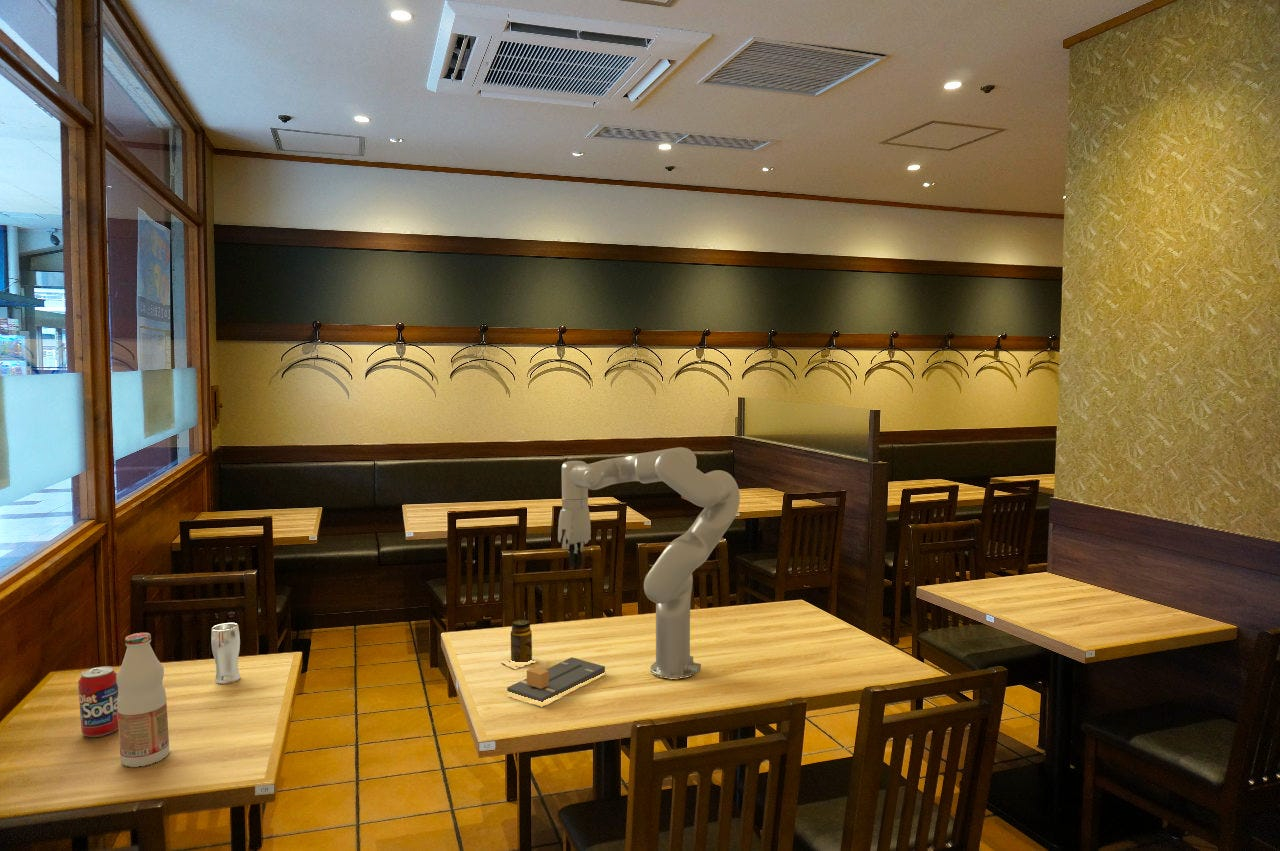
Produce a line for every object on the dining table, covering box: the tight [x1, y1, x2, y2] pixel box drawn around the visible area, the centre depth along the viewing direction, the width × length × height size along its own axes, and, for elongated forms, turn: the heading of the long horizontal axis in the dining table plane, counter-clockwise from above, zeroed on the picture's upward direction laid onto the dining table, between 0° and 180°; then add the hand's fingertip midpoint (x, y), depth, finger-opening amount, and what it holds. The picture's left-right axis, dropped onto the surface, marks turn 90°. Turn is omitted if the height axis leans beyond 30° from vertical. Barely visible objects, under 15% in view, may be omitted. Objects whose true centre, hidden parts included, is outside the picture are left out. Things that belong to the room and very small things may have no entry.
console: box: [506, 656, 606, 702], centre depth 227 cm, size 26×12×3 cm, turn 145°
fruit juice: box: [116, 632, 170, 768], centre depth 186 cm, size 9×9×28 cm
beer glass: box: [211, 622, 241, 685], centre depth 231 cm, size 7×7×15 cm
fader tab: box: [526, 666, 549, 689], centre depth 220 cm, size 3×5×4 cm, turn 55°
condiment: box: [510, 619, 533, 662], centre depth 243 cm, size 7×8×12 cm
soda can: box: [77, 665, 119, 738], centre depth 200 cm, size 8×8×15 cm
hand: (575, 565), depth 246 cm, fingers closed
